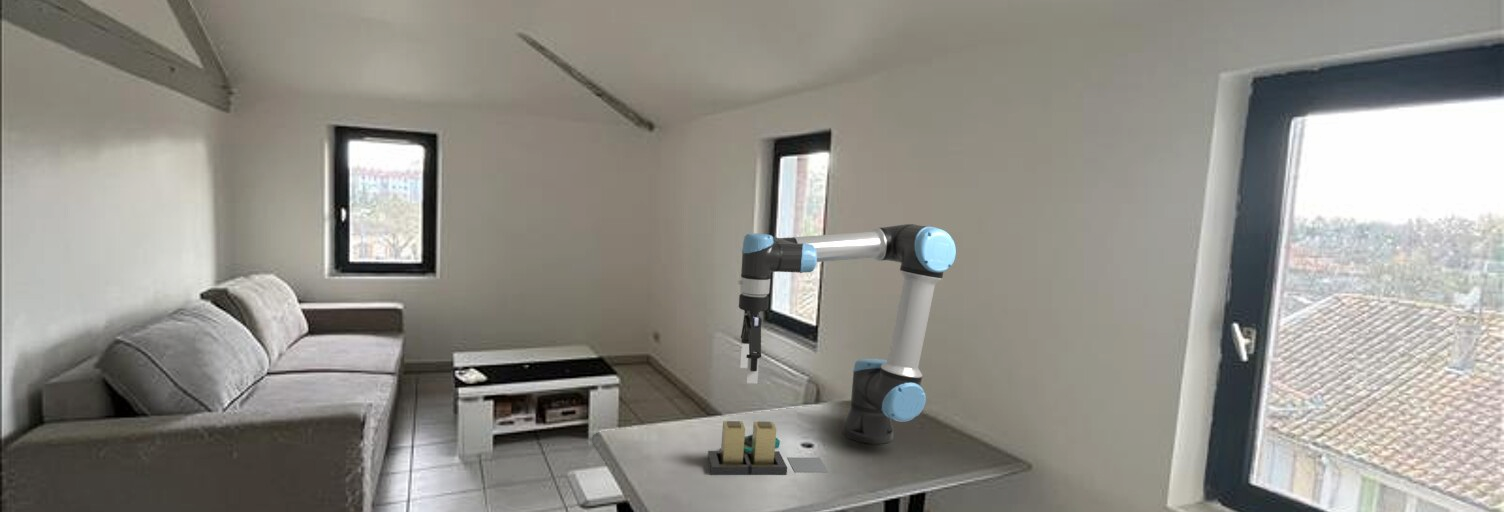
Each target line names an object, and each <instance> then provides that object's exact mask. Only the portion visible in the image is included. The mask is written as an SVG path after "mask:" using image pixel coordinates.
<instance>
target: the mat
mask: <svg viewBox="0 0 1504 512" xmlns="http://www.w3.org/2000/svg"><path fill="white" fill-rule="evenodd" d="M786 459H787V461H788V462H789V464H790V466H791V468H792V469H793V472H794V473H803V474H804V473H805V474H808V473H813V474H814V473H817V474H818V473H823V474H824V473H830V471H829V470H828V467H826V465H825V464H824V462H823V460H822V459H821V457H797V456H796V457H787V458H786Z"/></svg>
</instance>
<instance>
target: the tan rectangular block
mask: <svg viewBox="0 0 1504 512" xmlns="http://www.w3.org/2000/svg"><path fill="white" fill-rule="evenodd" d="M752 434H753V437H752V449H751V465H773V464H774V452H775V451H776V448H775V440H776V438H777V427H776V426H775V424H774V422H773V421H762V420H761V421H760V420H759V421H753V426H752Z"/></svg>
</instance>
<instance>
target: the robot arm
mask: <svg viewBox="0 0 1504 512" xmlns="http://www.w3.org/2000/svg"><path fill="white" fill-rule="evenodd" d="M956 250H957V249H956V244H955V241H954V239H953V238H952V236H951V235H950V234H949V233H948V232H947V231H945V230H943V229H941V228H938V227H934V226H926V225H918V224H913V223H906V224H898V225H892V226H886V227H885V226H884V227H883V226H882V227H874V228H873V229H872V231H866V232H865V231H863V232H849V233H837V234H835V233H834V234H819V235H808V236H807V235H805V236H792V237H777V236H773V235H771V234H768V233H767V234H765V233H753V232H751V233H746V234H745V235H744V238H743V243H742V249H741V254H742V256H741V270H740V271H741V272H740V273H741V274H740V280H738V282H737V283H738V285H739V286H740V287H739V291H740V293H739V296H738V297H739V298H738V308H739V309H740V310H741V311H744V313H743V322H742V327H741V328H742V329H741V335H740V338H741V345H740V346H741V348H740V358H739V359H740V362H739V368H740V369H746V382H745V383H746V384H758V380H759V367H760V359H761V357H762V322H763V319H762V317H760V312H766V311H767V310H768V309H769V299H770V298H769V296H768V295H769V294H770V288H771V273H777V272H778V273H781V272H782V273H798V274H799V273H800V274H803V273H805V274H806V273H812V272H814V270H815V269H816V267H817V263H823V262H824V263H825V262H834V261H849V260H851V261H852V260H862V259H863V260H864V259H874V260H875V261H877V262H880V261H891V262H896V263H900V269H899V271H900V273H901V275H902V276H903V280H902V285H901V286H902V287H901V292H900V297H899V300H898V301H899V302H898V305H897V311H896V316H895V321H894V327H893V331H892V336H891V340H890V341H891V342H890V347H889V351H888V357H887V359H880V358H861V359H858V360H856V361H855V363H854V368H853V370H852V373H853V375H852V387H851V396H850V397H851V399H850V405H849V406H850V407H849V409H848V411H847V414H846V417H845V418H844V420H843V423H842V429H841V430H842V434H843V435H844V436H845V437H847V438H848V439H850V440H853V441H856V442H860V443H865V444H872V445H873V444H874V445H876V444H877V445H879V444H882V445H883V444H886V443H890V442H892V441H893V439H894V427H893V423H892V420H894V421H896V422H899V423H900V422H901V423H905V422H909V421H911V420H914V419H915V418H916V417H918V416H919V415H920V414H921V413H922V411H923V409H924V408H925V405H926V402H927V400H926V399H927V398H926V392H924V389H923V387H921V383H922V379H923V373H922V372H921V370H920V369H919V365H920V360H921V356H922V350H923V346H924V341H925V335H926V332H927V326H928V322H929V321H928V320H929V317H930V311H931V306H932V302H933V296H934V292H935V287H936V285H937V284H938V283H939V282H940V281H942V280H943V276H944V272H946V271H947V270H948V269H949V267H952V265H953V264H954V262H955V259H956V255H957V251H956Z"/></svg>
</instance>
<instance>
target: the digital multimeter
mask: <svg viewBox="0 0 1504 512" xmlns="http://www.w3.org/2000/svg"><path fill="white" fill-rule="evenodd" d="M752 437H753V433H751V434H749V435H747V436H746V435H745V439H744V452H749V451H751V449H752ZM780 443H781V440H780V439H779V437H776V440H775V449H778V448H780V445H781V444H780Z"/></svg>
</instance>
